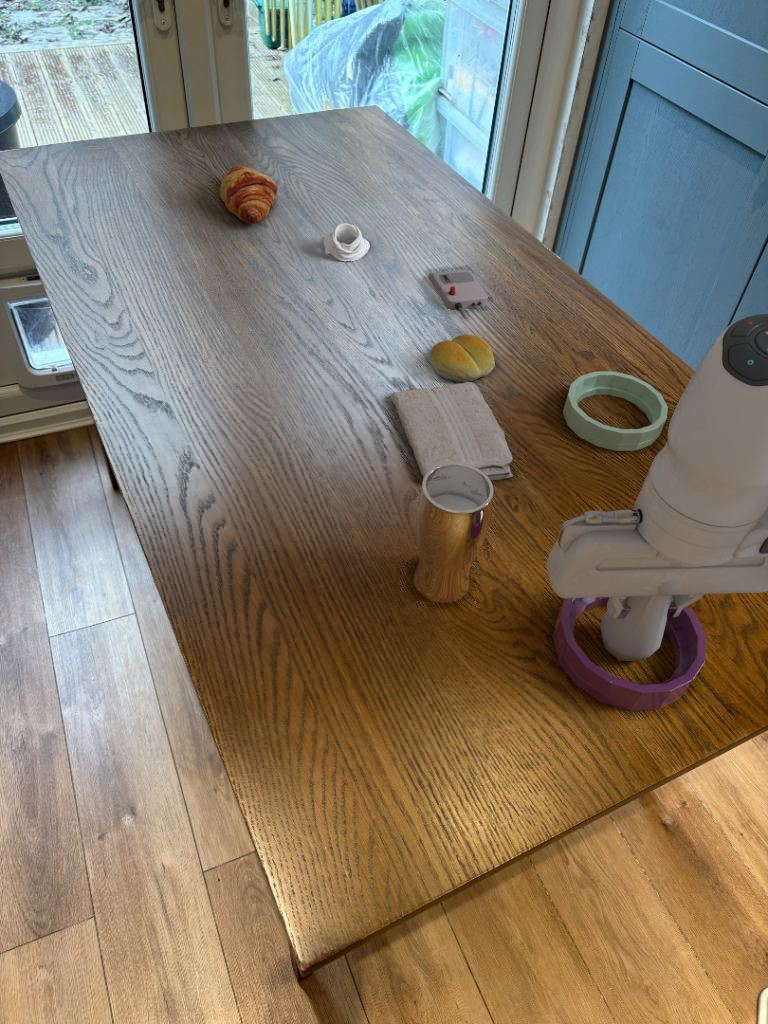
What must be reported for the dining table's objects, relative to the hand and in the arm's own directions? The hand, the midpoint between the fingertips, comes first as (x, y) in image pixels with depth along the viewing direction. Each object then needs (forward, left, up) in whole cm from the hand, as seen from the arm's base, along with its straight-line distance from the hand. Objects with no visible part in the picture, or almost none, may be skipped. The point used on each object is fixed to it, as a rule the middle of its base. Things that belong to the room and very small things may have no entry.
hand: (641, 611), depth 70 cm
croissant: (+41, -97, -7) cm, 106 cm away
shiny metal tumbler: (+17, -9, -7) cm, 21 cm away
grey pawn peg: (0, 0, -6) cm, 6 cm away
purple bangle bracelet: (0, 0, -7) cm, 7 cm away
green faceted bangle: (-9, -35, -7) cm, 37 cm away
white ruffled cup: (+24, -80, -7) cm, 84 cm away
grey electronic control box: (+7, -67, -7) cm, 68 cm away
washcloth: (+13, -32, -7) cm, 35 cm away
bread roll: (+9, -48, -7) cm, 49 cm away
